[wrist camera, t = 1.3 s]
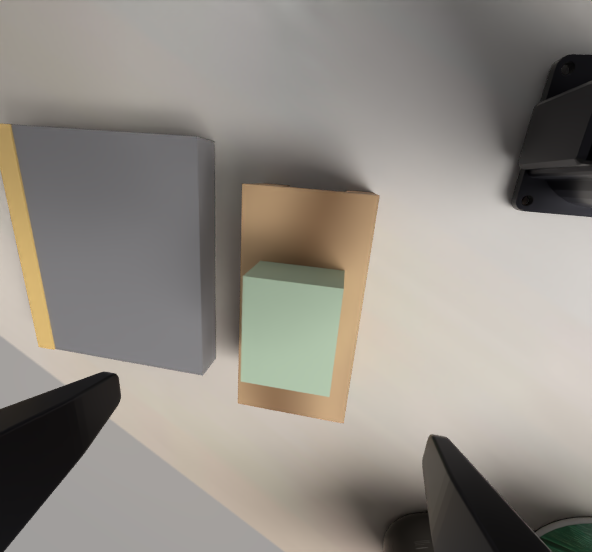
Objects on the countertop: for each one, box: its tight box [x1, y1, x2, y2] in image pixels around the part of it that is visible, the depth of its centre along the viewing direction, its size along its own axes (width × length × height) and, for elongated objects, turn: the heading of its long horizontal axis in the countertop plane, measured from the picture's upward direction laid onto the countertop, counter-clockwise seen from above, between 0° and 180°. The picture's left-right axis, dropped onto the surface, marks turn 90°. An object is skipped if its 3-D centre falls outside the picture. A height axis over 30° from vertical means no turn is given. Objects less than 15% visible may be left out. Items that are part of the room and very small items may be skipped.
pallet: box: [238, 183, 379, 423], centre depth 17 cm, size 6×12×4 cm, turn 175°
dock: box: [0, 124, 216, 375], centre depth 19 cm, size 12×14×2 cm
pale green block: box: [241, 261, 345, 397], centre depth 14 cm, size 4×5×2 cm
